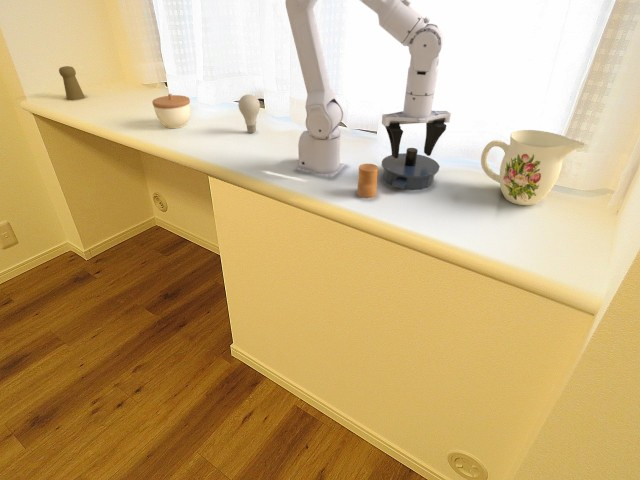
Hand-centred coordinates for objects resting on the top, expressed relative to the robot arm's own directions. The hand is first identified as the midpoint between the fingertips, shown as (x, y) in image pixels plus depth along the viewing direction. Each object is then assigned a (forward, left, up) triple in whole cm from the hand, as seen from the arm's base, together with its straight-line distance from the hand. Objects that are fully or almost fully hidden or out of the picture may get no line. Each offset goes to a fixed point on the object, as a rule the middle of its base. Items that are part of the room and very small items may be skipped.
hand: (411, 155), depth 90 cm
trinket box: (-76, +6, -6) cm, 76 cm away
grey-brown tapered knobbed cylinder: (-132, +13, -7) cm, 133 cm away
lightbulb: (-51, +11, -7) cm, 53 cm away
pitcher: (+23, +3, -6) cm, 24 cm away
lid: (0, 0, -3) cm, 3 cm away
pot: (0, 0, -6) cm, 6 cm away
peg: (-6, -11, -6) cm, 14 cm away
